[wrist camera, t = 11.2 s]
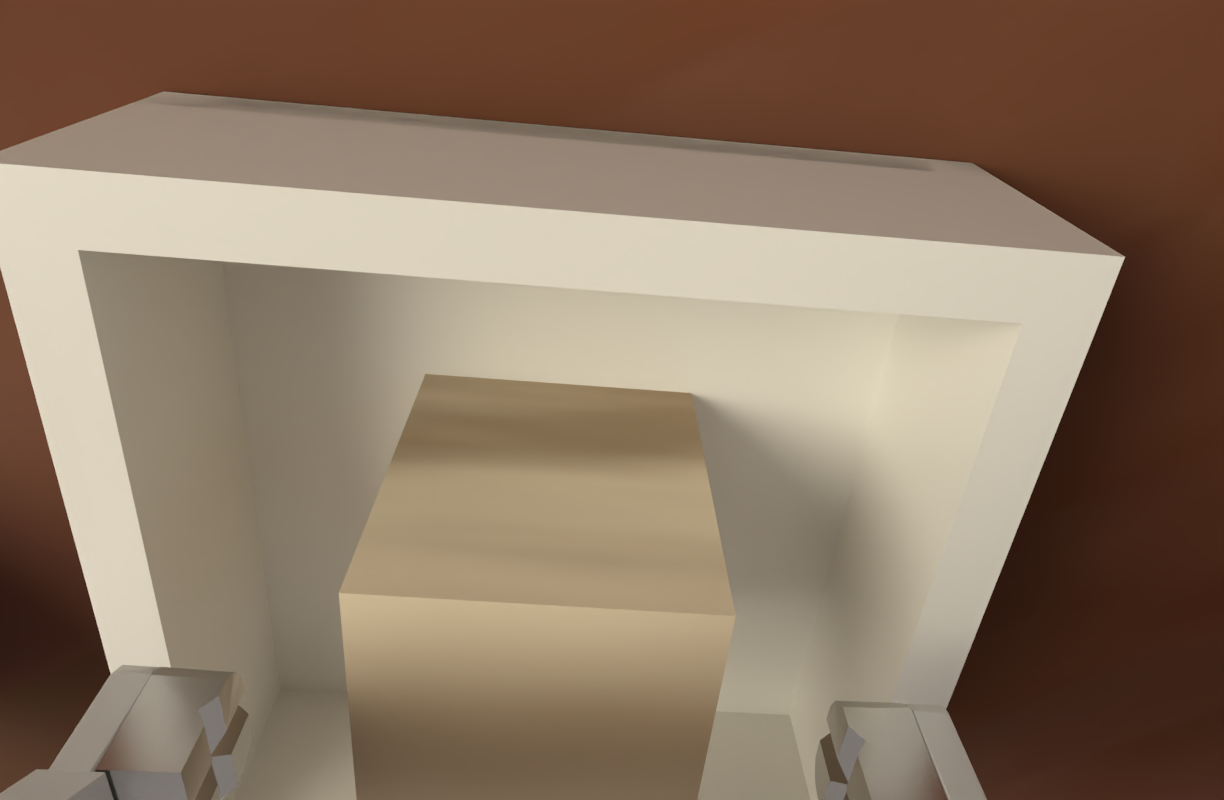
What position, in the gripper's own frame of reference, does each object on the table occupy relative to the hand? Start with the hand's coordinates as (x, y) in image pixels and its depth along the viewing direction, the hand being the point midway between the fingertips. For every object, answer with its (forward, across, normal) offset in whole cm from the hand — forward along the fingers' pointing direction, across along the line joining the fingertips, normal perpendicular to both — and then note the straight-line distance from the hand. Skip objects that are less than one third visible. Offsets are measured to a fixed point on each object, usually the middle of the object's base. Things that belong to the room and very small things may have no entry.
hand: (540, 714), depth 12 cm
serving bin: (+7, 0, 0) cm, 7 cm away
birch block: (+6, 0, 0) cm, 6 cm away
